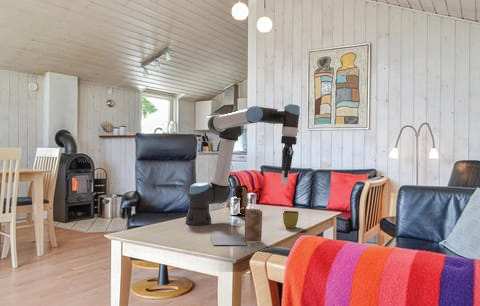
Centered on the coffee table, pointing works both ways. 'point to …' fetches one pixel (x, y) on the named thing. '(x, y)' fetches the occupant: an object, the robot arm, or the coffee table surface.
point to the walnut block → (253, 225)
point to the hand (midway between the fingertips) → (284, 183)
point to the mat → (228, 240)
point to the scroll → (243, 192)
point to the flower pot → (290, 218)
